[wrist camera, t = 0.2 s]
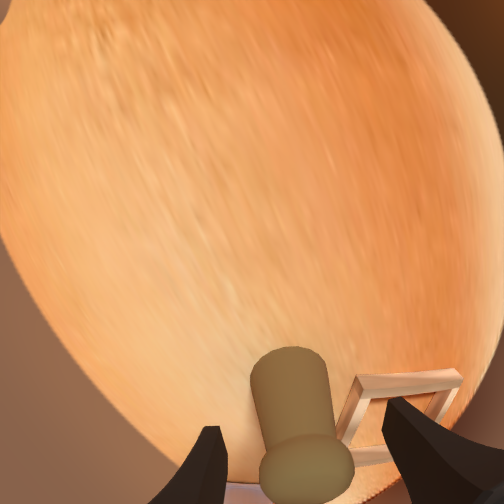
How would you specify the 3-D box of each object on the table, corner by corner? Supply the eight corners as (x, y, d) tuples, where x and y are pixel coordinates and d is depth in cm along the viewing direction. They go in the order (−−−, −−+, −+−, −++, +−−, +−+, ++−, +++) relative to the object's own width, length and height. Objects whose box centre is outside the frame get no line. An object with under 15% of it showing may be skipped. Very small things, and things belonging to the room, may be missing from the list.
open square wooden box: (411, 444, 24) (418, 455, 22) (322, 456, 24) (326, 470, 22) (453, 367, 22) (463, 378, 20) (356, 374, 22) (363, 389, 20)
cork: (256, 410, 22) (260, 523, 12) (243, 353, 21) (240, 478, 10) (328, 398, 22) (363, 505, 11) (325, 339, 21) (375, 453, 10)
